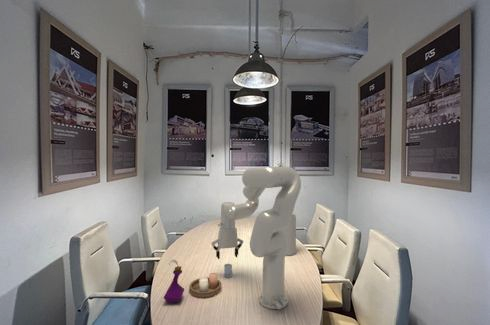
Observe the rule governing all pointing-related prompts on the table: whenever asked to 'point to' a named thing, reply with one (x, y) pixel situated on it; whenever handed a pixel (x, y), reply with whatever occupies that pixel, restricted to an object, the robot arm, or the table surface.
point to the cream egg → (203, 284)
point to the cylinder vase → (291, 236)
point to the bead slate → (227, 270)
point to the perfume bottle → (174, 287)
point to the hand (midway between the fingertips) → (227, 257)
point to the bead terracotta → (213, 280)
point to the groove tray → (195, 292)
